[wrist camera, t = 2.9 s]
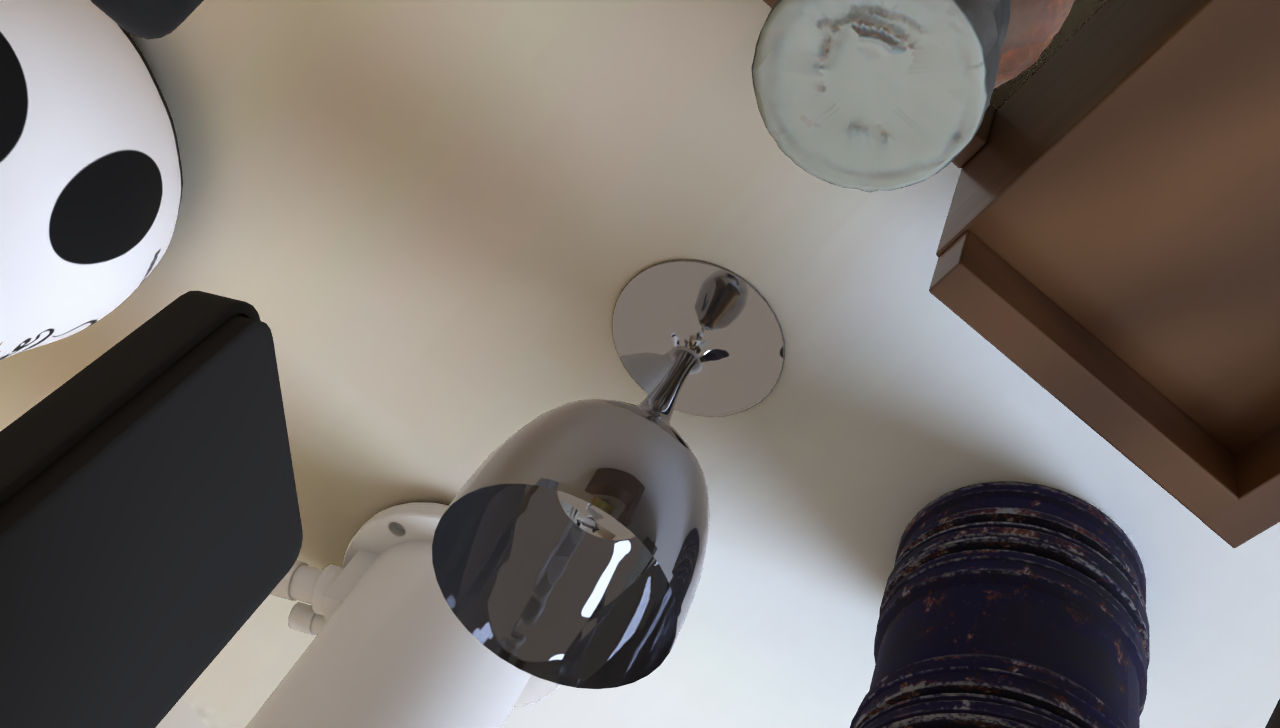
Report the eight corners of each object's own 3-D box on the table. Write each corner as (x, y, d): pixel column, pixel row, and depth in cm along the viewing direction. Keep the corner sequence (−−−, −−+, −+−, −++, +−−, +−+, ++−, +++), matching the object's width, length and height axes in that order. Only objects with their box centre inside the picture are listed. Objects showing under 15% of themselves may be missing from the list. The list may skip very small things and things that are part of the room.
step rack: (763, -43, 39) (656, 64, 31) (1093, -474, 31) (1076, -497, 22) (1213, 344, 41) (1234, 549, 32) (1642, 35, 33) (1826, 199, 24)
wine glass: (565, 308, 49) (382, 539, 37) (711, 214, 45) (557, 442, 33) (683, 452, 51) (545, 716, 39) (835, 375, 47) (732, 646, 35)
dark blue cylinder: (850, 518, 50) (760, 808, 38) (1081, 447, 45) (1060, 757, 33) (962, 690, 53) (911, 1010, 41) (1191, 642, 48) (1209, 993, 36)
